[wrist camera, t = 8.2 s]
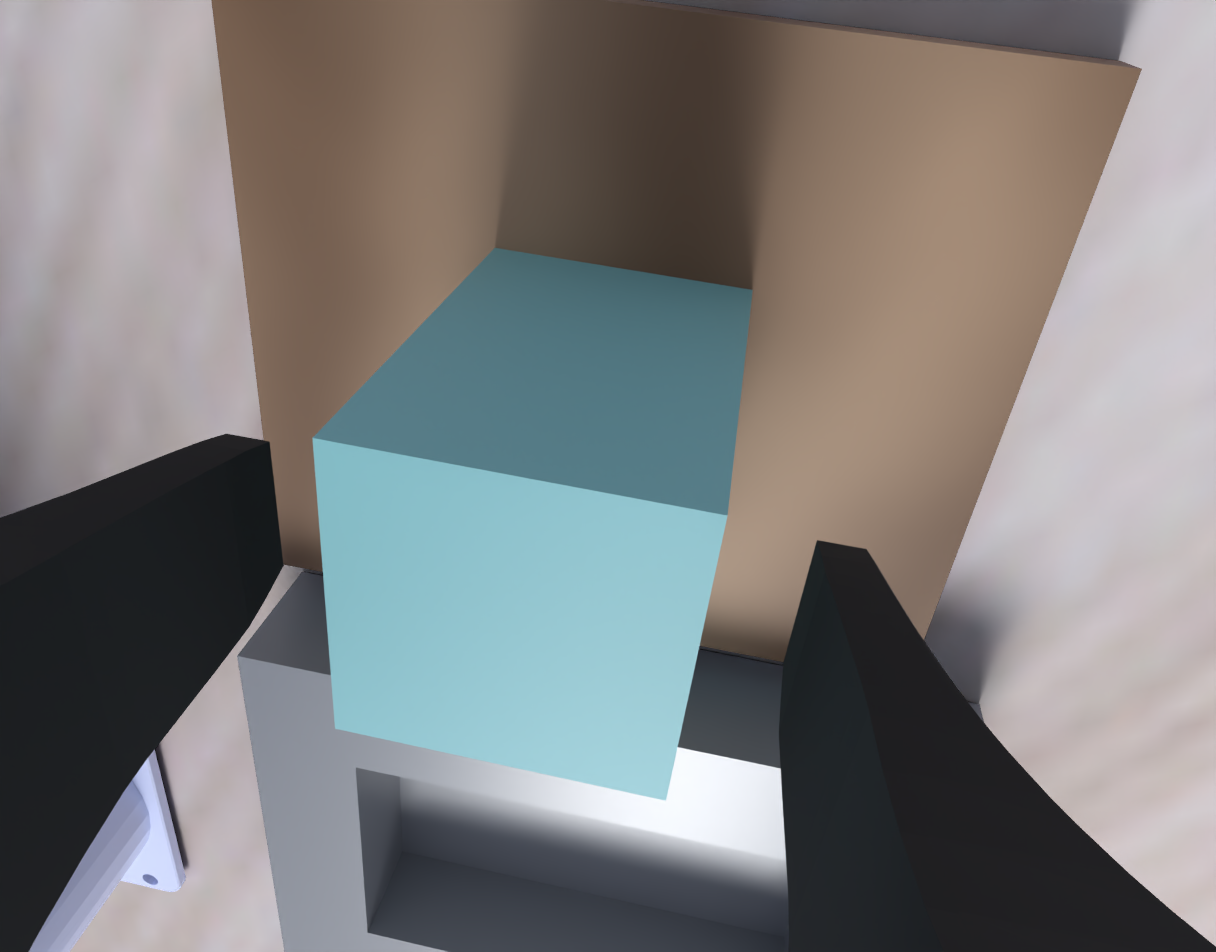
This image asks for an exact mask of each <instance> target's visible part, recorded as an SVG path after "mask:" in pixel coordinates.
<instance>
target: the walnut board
mask: <svg viewBox="0 0 1216 952" xmlns="http://www.w3.org/2000/svg"><path fill="white" fill-rule="evenodd" d="M212 8H213V16H214V25H215V33H216V42H217V50H218V59H219V67H220V75H221V84H222V92H223V101H224V109H225V118H226V126H227V134H228V143H229V151H230V160H231V168H232V177H233V185H234V193H235V202H236V210H237V219H238V227H239V236H240V244H241V253H242V261H243V269H244V278H245V286H246V295H247V303H248V312H249V320H250V328H251V337H252V345H253V354H254V362H255V371H256V379H257V387H258V396H259V404H260V413H261V421H262V430H263V438H264V441H269V442H270V449H271V458H272V467H273V476H274V485H275V494H276V503H277V512H278V521H279V530H280V538H281V547H282V556H283V564H284V565H290V566H295V567H300V568H305V569H310V570H315V571H320V572H323V567H322V554H321V541H320V529H319V516H318V503H317V490H316V477H315V464H314V451H313V439H312V438H313V437H314V436H315V435H316V434H317V433H318V432H319V431H320V430H321V429H322V428H323V426H324V425H325V424H326V423H327V422H328V421H329V420H330V419H331V418H332V417H333V416H334V415H335V414H336V413H337V412H338V411H339V410H340V409H341V408H342V407H343V406H344V405H345V404H346V402H347V401H348V400H349V399H350V398H351V397H352V396H353V395H354V394H355V393H356V392H357V391H358V390H359V389H360V388H361V387H362V386H363V385H364V384H365V383H366V382H367V381H368V380H369V378H370V377H371V376H372V375H373V374H374V373H375V372H376V371H377V370H378V369H379V368H380V367H381V366H382V365H383V364H384V363H385V362H386V361H387V360H388V359H389V358H390V357H391V356H392V354H393V353H394V352H395V351H396V350H397V349H398V348H399V347H400V346H401V345H402V344H403V343H404V342H405V341H406V340H407V339H408V338H409V337H410V336H411V335H412V334H413V333H414V332H415V330H416V329H417V328H418V327H419V326H420V325H421V324H422V323H423V322H424V321H425V320H426V319H427V318H428V317H429V316H430V315H431V314H432V313H433V312H434V311H435V310H436V309H437V308H438V307H439V305H440V304H441V303H442V302H443V301H444V300H445V299H446V298H447V297H448V296H449V295H450V294H451V293H452V292H453V291H454V290H455V289H456V288H457V287H458V286H459V285H460V284H461V283H462V281H463V280H464V279H465V278H466V277H467V276H468V275H469V274H470V273H471V272H472V271H473V270H474V269H475V268H476V267H477V266H478V265H479V264H480V263H481V262H482V261H483V260H484V259H485V257H486V256H487V255H488V254H489V253H490V252H491V251H492V250H493V249H494V248H499V249H505V250H511V251H517V252H523V253H529V254H535V255H542V256H548V257H554V258H560V259H566V260H572V261H578V262H584V263H591V264H597V265H603V266H609V267H615V268H621V269H627V270H633V271H640V272H646V273H652V274H658V275H664V276H670V277H676V278H682V279H688V280H695V281H701V282H707V283H713V284H719V285H725V286H731V287H737V288H744V289H750V290H753V292H752V301H751V310H750V319H749V328H748V337H747V346H746V355H745V364H744V373H743V382H742V391H741V399H740V408H739V417H738V426H737V435H736V444H735V453H734V462H733V471H732V480H731V489H730V498H729V507H728V516H727V521H726V525H725V530H724V535H723V539H722V544H721V548H720V553H719V558H718V562H717V567H716V572H715V576H714V581H713V585H712V590H711V595H710V599H709V604H708V609H707V613H706V618H705V622H704V627H703V632H702V636H701V641H700V646H704V647H709V648H714V649H719V650H724V651H729V652H734V653H739V654H745V655H750V656H755V657H760V658H765V659H770V660H775V661H780V662H784V658H785V655H786V651H787V647H788V644H789V640H790V636H791V633H792V629H793V625H794V622H795V618H796V615H797V611H798V607H799V604H800V600H801V596H802V593H803V589H804V585H805V582H806V578H807V575H808V571H809V567H810V564H811V560H812V556H813V553H814V549H815V546H816V542H817V540H819V541H825V542H830V543H836V544H842V545H847V546H853V547H858V548H864V549H867V551H868V552H869V553H870V555H871V556H872V558H873V560H874V561H875V563H876V564H877V566H878V568H879V569H880V571H881V573H882V574H883V576H884V578H885V579H886V581H887V583H888V584H889V586H890V588H891V589H892V591H893V593H894V594H895V596H896V597H897V599H898V601H899V602H900V604H901V606H902V607H903V609H904V610H905V612H906V614H907V615H908V617H909V618H910V620H911V621H912V623H913V625H914V626H915V628H916V629H917V631H918V632H919V634H920V635H921V637H922V638H923V640H924V638H925V636H926V633H927V630H928V628H929V625H930V623H931V620H932V617H933V615H934V612H935V609H936V607H937V604H938V602H939V599H940V596H941V594H942V591H943V589H944V586H945V583H946V581H947V578H948V575H949V573H950V570H951V568H952V565H953V562H954V560H955V557H956V554H957V552H958V549H959V547H960V544H961V541H962V539H963V536H964V533H965V531H966V528H967V526H968V523H969V520H970V518H971V515H972V513H973V510H974V507H975V505H976V502H977V499H978V497H979V494H980V492H981V489H982V486H983V484H984V481H985V478H986V476H987V473H988V471H989V468H990V465H991V463H992V460H993V458H994V455H995V452H996V450H997V447H998V444H999V442H1000V439H1001V437H1002V434H1003V431H1004V429H1005V426H1006V423H1007V421H1008V418H1009V416H1010V413H1011V410H1012V408H1013V405H1014V403H1015V400H1016V397H1017V395H1018V392H1019V389H1020V387H1021V384H1022V382H1023V379H1024V376H1025V374H1026V371H1027V368H1028V366H1029V363H1030V361H1031V358H1032V355H1033V353H1034V350H1035V347H1036V345H1037V342H1038V340H1039V337H1040V334H1041V332H1042V329H1043V327H1044V324H1045V321H1046V319H1047V316H1048V313H1049V311H1050V308H1051V306H1052V303H1053V300H1054V298H1055V295H1056V292H1057V290H1058V287H1059V285H1060V282H1061V279H1062V277H1063V274H1064V272H1065V269H1066V266H1067V264H1068V261H1069V258H1070V256H1071V253H1072V251H1073V248H1074V245H1075V243H1076V240H1077V237H1078V235H1079V232H1080V230H1081V227H1082V224H1083V222H1084V219H1085V217H1086V214H1087V211H1088V209H1089V206H1090V203H1091V201H1092V198H1093V196H1094V193H1095V190H1096V188H1097V185H1098V182H1099V180H1100V177H1101V175H1102V172H1103V169H1104V167H1105V164H1106V162H1107V159H1108V156H1109V154H1110V151H1111V148H1112V146H1113V143H1114V141H1115V138H1116V135H1117V133H1118V130H1119V127H1120V125H1121V122H1122V120H1123V117H1124V114H1125V112H1126V109H1127V106H1128V104H1129V101H1130V99H1131V96H1132V93H1133V91H1134V88H1135V86H1136V83H1137V80H1138V78H1139V75H1140V72H1141V70H1142V69H1140V68H1138V67H1135V66H1132V65H1130V64H1127V63H1124V62H1122V61H1118V60H1110V59H1102V58H1094V57H1086V56H1078V55H1070V54H1062V53H1054V52H1047V51H1039V50H1031V49H1023V48H1015V47H1007V46H999V45H991V44H984V43H976V42H968V41H960V40H952V39H944V38H936V37H928V36H920V35H913V34H905V33H897V32H889V31H881V30H873V29H865V28H857V27H850V26H842V25H834V24H826V23H818V22H810V21H802V20H794V19H786V18H779V17H771V16H763V15H755V14H747V13H739V12H731V11H723V10H716V9H708V8H700V7H692V6H684V5H676V4H668V3H660V2H652V1H645V0H212Z"/></svg>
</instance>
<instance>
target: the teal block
mask: <svg viewBox="0 0 1216 952" xmlns="http://www.w3.org/2000/svg"><path fill="white" fill-rule="evenodd" d="M752 292H753V290H750V289H744V288H737V287H731V286H725V285H719V284H713V283H707V282H701V281H695V280H688V279H682V278H676V277H670V276H664V275H658V274H652V273H646V272H640V271H633V270H627V269H621V268H615V267H609V266H603V265H597V264H591V263H584V262H578V261H572V260H566V259H560V258H554V257H548V256H542V255H535V254H529V253H523V252H517V251H511V250H505V249H499V248H494V249H493V250H492V251H491V252H490V253H489V254H488V255H487V256H486V257H485V259H484V260H483V261H482V262H481V263H480V264H479V265H478V266H477V267H476V268H475V269H474V270H473V271H472V272H471V273H470V274H469V275H468V276H467V277H466V278H465V279H464V280H463V281H462V283H461V284H460V285H459V286H458V287H457V288H456V289H455V290H454V291H453V292H452V293H451V294H450V295H449V296H448V297H447V298H446V299H445V300H444V301H443V302H442V303H441V304H440V305H439V307H438V308H437V309H436V310H435V311H434V312H433V313H432V314H431V315H430V316H429V317H428V318H427V319H426V320H425V321H424V322H423V323H422V324H421V325H420V326H419V327H418V328H417V329H416V330H415V332H414V333H413V334H412V335H411V336H410V337H409V338H408V339H407V340H406V341H405V342H404V343H403V344H402V345H401V346H400V347H399V348H398V349H397V350H396V351H395V352H394V353H393V354H392V356H391V357H390V358H389V359H388V360H387V361H386V362H385V363H384V364H383V365H382V366H381V367H380V368H379V369H378V370H377V371H376V372H375V373H374V374H373V375H372V376H371V377H370V378H369V380H368V381H367V382H366V383H365V384H364V385H363V386H362V387H361V388H360V389H359V390H358V391H357V392H356V393H355V394H354V395H353V396H352V397H351V398H350V399H349V400H348V401H347V402H346V404H345V405H344V406H343V407H342V408H341V409H340V410H339V411H338V412H337V413H336V414H335V415H334V416H333V417H332V418H331V419H330V420H329V421H328V422H327V423H326V424H325V425H324V426H323V428H322V429H321V430H320V431H319V432H318V433H317V434H316V435H315V436H314V437H313V438H312V439H313V451H314V464H315V477H316V490H317V503H318V516H319V529H320V541H321V554H322V567H323V580H324V593H325V606H326V619H327V632H328V644H329V657H330V670H331V683H332V696H333V709H334V722H335V729H339V730H344V731H348V732H353V733H357V734H362V735H367V736H371V737H376V738H380V739H385V740H390V741H394V742H399V743H403V744H408V745H412V746H417V747H422V748H426V749H431V750H435V751H440V752H445V753H449V754H454V755H458V756H463V757H467V758H472V759H477V760H481V761H486V762H490V763H495V764H500V765H504V766H509V767H513V768H518V769H523V770H527V771H532V772H536V773H541V774H545V775H550V776H555V777H559V778H564V779H568V780H573V781H578V782H582V783H587V784H591V785H596V786H601V787H605V788H610V789H614V790H619V791H623V792H628V793H633V794H637V795H642V796H646V797H651V798H656V799H660V800H665V801H666V798H667V794H668V789H669V784H670V780H671V775H672V771H673V766H674V761H675V757H676V752H677V747H678V743H679V738H680V734H681V729H682V724H683V720H684V715H685V710H686V706H687V701H688V697H689V692H690V687H691V683H692V678H693V673H694V669H695V664H696V659H697V655H698V650H699V646H700V641H701V636H702V632H703V627H704V622H705V618H706V613H707V609H708V604H709V599H710V595H711V590H712V585H713V581H714V576H715V572H716V567H717V562H718V558H719V553H720V548H721V544H722V539H723V535H724V530H725V525H726V521H727V516H728V507H729V498H730V489H731V480H732V471H733V462H734V453H735V444H736V435H737V426H738V417H739V408H740V399H741V391H742V382H743V373H744V364H745V355H746V346H747V337H748V328H749V319H750V310H751V301H752Z"/></svg>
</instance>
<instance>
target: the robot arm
mask: <svg viewBox="0 0 1216 952" xmlns="http://www.w3.org/2000/svg"><path fill="white" fill-rule="evenodd" d="M283 566H284V565H283V556H282V547H281V538H280V530H279V521H278V512H277V503H276V494H275V485H274V476H273V467H272V458H271V449H270V442H269V441H263V440H258V439H252V438H247V437H241V436H236V435H230V434H224V435H221V436H217V437H214V438H210V439H207V440H204V441H201V442H199V443H196V444H193V445H190V446H188V447H185V448H182V449H180V450H177V451H174V452H172V453H169V454H167V455H164V456H162V457H159V458H156V459H154V460H151V461H149V462H146V463H144V464H141V465H139V466H136V467H134V468H131V469H129V470H126V471H124V472H121V473H119V474H116V475H114V476H111V477H109V478H106V479H104V480H101V481H99V482H96V483H94V484H91V485H89V486H86V487H84V488H81V489H78V490H76V491H73V492H71V493H68V494H65V495H63V496H60V497H57V498H54V499H52V500H49V501H46V502H43V503H41V504H38V505H35V506H32V507H29V508H27V509H24V510H21V511H18V512H16V513H13V514H10V515H7V516H4V517H2V518H0V952H70V951H71V949H72V948H73V946H74V945H75V944H76V942H77V941H78V939H79V938H80V937H81V935H82V934H83V932H84V931H85V930H86V928H87V927H88V925H89V924H90V923H91V921H92V920H93V918H94V917H95V916H96V914H97V913H98V911H99V910H100V909H101V907H102V906H103V904H104V903H105V902H106V900H107V899H108V897H109V896H110V895H111V893H112V892H113V890H114V889H115V888H116V886H117V885H118V883H119V882H120V880H121V881H125V882H129V883H134V884H138V885H142V886H146V887H151V888H155V889H159V890H163V891H168V892H174V891H178V890H179V889H180V888H181V886H182V884H183V883H184V881H185V878H186V876H185V872H184V868H183V864H182V860H181V856H180V852H179V848H178V844H177V839H176V835H175V831H174V827H173V823H172V819H171V815H170V811H169V807H168V803H167V798H166V794H165V790H164V786H163V782H162V778H161V774H160V770H159V766H158V762H157V758H156V753H155V748H156V747H157V746H158V744H159V743H160V742H161V741H162V739H163V738H164V737H165V735H166V734H167V733H168V732H169V730H170V729H171V728H172V726H173V725H174V724H175V723H176V721H177V720H178V719H179V717H180V716H181V715H182V714H183V712H184V711H185V710H186V708H187V707H188V706H189V705H190V703H191V702H192V701H193V699H194V698H195V697H196V696H197V694H198V693H199V692H200V691H201V689H202V688H203V687H204V685H205V684H206V683H207V682H208V680H209V679H210V678H211V676H212V675H213V674H214V673H215V671H216V670H217V669H218V667H219V666H220V665H221V663H222V662H223V661H224V659H225V658H226V657H227V656H228V654H229V653H230V652H231V650H232V649H233V648H234V646H235V645H236V644H237V642H238V641H239V640H240V638H241V637H242V636H243V634H244V633H245V632H246V630H247V629H248V628H249V626H250V624H251V623H252V621H253V619H254V618H255V616H256V614H257V613H258V611H259V609H260V607H261V606H262V604H263V602H264V601H265V599H266V597H267V595H268V593H269V592H270V590H271V588H272V586H273V584H274V582H275V580H276V579H277V577H278V575H279V573H280V571H281V569H282V567H283ZM779 748H780V767H781V785H782V802H783V819H784V835H785V852H786V869H787V885H788V913H789V947H788V952H1216V947H1215V946H1214V945H1213V944H1212V943H1210V942H1209V941H1208V940H1207V939H1206V938H1204V937H1203V936H1202V935H1201V934H1199V933H1198V932H1197V931H1196V930H1195V929H1193V928H1192V927H1191V926H1190V925H1188V924H1187V923H1186V922H1185V921H1184V920H1182V919H1181V918H1180V917H1179V916H1177V915H1176V914H1175V913H1174V912H1173V911H1171V910H1170V909H1169V908H1168V907H1167V906H1166V905H1164V904H1163V903H1162V902H1161V901H1160V900H1159V899H1158V898H1156V897H1155V896H1154V895H1153V894H1152V893H1151V892H1150V891H1148V890H1147V889H1146V888H1145V887H1144V886H1143V885H1142V884H1140V883H1139V882H1138V881H1137V880H1136V879H1135V878H1133V877H1132V876H1131V875H1130V874H1129V873H1128V872H1127V871H1126V870H1125V869H1124V868H1123V867H1122V866H1120V865H1119V864H1118V863H1117V862H1116V861H1115V860H1114V859H1113V858H1112V857H1111V856H1110V855H1109V854H1108V853H1107V852H1106V851H1105V850H1103V849H1102V848H1101V847H1100V846H1099V845H1098V844H1097V843H1096V842H1095V841H1094V840H1093V839H1092V838H1091V837H1090V836H1089V835H1088V834H1086V833H1085V832H1084V831H1083V830H1082V829H1081V828H1080V827H1079V826H1078V825H1077V824H1076V823H1075V822H1074V821H1073V820H1072V819H1071V818H1070V817H1069V816H1068V815H1067V814H1066V813H1065V812H1064V811H1063V810H1062V809H1061V808H1060V807H1059V806H1058V805H1057V804H1056V803H1055V802H1054V801H1053V800H1052V799H1051V798H1050V797H1049V796H1048V795H1047V794H1046V792H1045V791H1044V790H1043V789H1042V788H1041V787H1040V786H1039V785H1038V784H1037V783H1036V782H1035V780H1034V779H1033V778H1032V777H1031V776H1030V775H1029V774H1028V773H1027V772H1026V771H1025V770H1024V768H1023V767H1022V766H1021V765H1020V764H1019V763H1018V762H1017V761H1016V760H1015V759H1014V758H1013V756H1012V755H1011V754H1010V753H1009V752H1008V751H1007V750H1006V749H1005V747H1004V746H1003V745H1002V744H1001V743H1000V741H999V740H998V739H997V738H996V737H995V736H994V734H993V733H992V732H991V731H990V730H989V728H988V727H987V726H986V725H985V723H984V722H983V721H982V720H981V718H980V717H979V716H978V714H977V713H976V712H975V711H974V709H973V708H972V707H971V706H970V704H969V703H968V702H967V700H966V699H965V698H964V697H963V695H962V694H961V693H960V691H959V690H958V689H957V687H956V686H955V685H954V683H953V682H952V680H951V679H950V678H949V676H948V675H947V673H946V672H945V671H944V669H943V668H942V666H941V665H940V663H939V662H938V660H937V659H936V657H935V656H934V655H933V653H932V652H931V650H930V649H929V647H928V646H927V644H926V643H925V641H924V640H923V638H922V637H921V635H920V634H919V632H918V631H917V629H916V628H915V626H914V625H913V623H912V621H911V620H910V618H909V617H908V615H907V614H906V612H905V610H904V609H903V607H902V606H901V604H900V602H899V601H898V599H897V597H896V596H895V594H894V593H893V591H892V589H891V588H890V586H889V584H888V583H887V581H886V579H885V578H884V576H883V574H882V573H881V571H880V569H879V568H878V566H877V564H876V563H875V561H874V560H873V558H872V556H871V555H870V553H869V552H868V551H867V549H864V548H858V547H853V546H847V545H842V544H836V543H830V542H825V541H819V540H817V542H816V546H815V549H814V553H813V556H812V560H811V564H810V567H809V571H808V575H807V578H806V582H805V585H804V589H803V593H802V596H801V600H800V604H799V607H798V611H797V615H796V618H795V622H794V625H793V629H792V633H791V636H790V640H789V644H788V647H787V651H786V655H785V658H784V662H783V675H782V689H781V703H780V720H779Z"/></svg>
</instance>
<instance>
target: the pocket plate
mask: <svg viewBox="0 0 1216 952" xmlns="http://www.w3.org/2000/svg"><path fill="white" fill-rule="evenodd" d="M237 657H238V664H239V670H240V676H241V682H242V689H243V695H244V701H245V707H246V714H247V720H248V726H249V732H250V739H251V745H252V751H253V757H254V764H255V770H256V776H257V782H258V789H259V795H260V801H261V807H262V814H263V820H264V826H265V832H266V839H267V845H268V851H269V857H270V864H271V870H272V876H273V882H274V889H275V895H276V901H277V907H278V914H279V920H280V926H281V932H282V939H283V945H284V951H285V952H788V947H789V913H788V885H787V869H786V852H785V835H784V819H783V802H782V785H781V767H780V748H779V720H780V703H781V689H782V675H783V666H781V665H775V664H770V663H765V662H760V661H755V660H750V659H745V658H740V657H735V656H730V655H724V654H719V653H714V652H709V651H704V650H698V655H697V659H696V664H695V669H694V673H693V678H692V683H691V687H690V692H689V697H688V701H687V706H686V710H685V715H684V720H683V724H682V729H681V734H680V738H679V743H678V747H677V752H676V757H675V761H674V766H673V771H672V775H671V780H670V784H669V789H668V794H667V798H666V801H665V800H660V799H656V798H651V797H646V796H642V795H637V794H633V793H628V792H623V791H619V790H614V789H610V788H605V787H601V786H596V785H591V784H587V783H582V782H578V781H573V780H568V779H564V778H559V777H555V776H550V775H545V774H541V773H536V772H532V771H527V770H523V769H518V768H513V767H509V766H504V765H500V764H495V763H490V762H486V761H481V760H477V759H472V758H467V757H463V756H458V755H454V754H449V753H445V752H440V751H435V750H431V749H426V748H422V747H417V746H412V745H408V744H403V743H399V742H394V741H390V740H385V739H380V738H376V737H371V736H367V735H362V734H357V733H353V732H348V731H344V730H339V729H335V722H334V709H333V696H332V683H331V670H330V657H329V644H328V632H327V619H326V606H325V593H324V580H323V576H321V575H316V574H311V573H306V572H302V573H301V574H300V575H299V577H298V578H297V579H296V581H295V582H294V583H293V584H292V586H291V587H290V588H289V590H288V591H287V592H286V594H285V595H284V596H283V597H282V599H281V600H280V601H279V603H278V604H277V605H276V606H275V608H274V609H273V610H272V612H271V613H270V614H269V616H268V617H267V618H266V619H265V621H264V622H263V623H262V625H261V626H260V627H259V629H258V630H257V631H256V632H255V634H254V635H253V636H252V638H251V639H250V640H249V641H248V643H247V644H246V645H245V647H244V648H243V649H242V651H241V652H240V653H239V654H238V656H237ZM968 703H969V702H968ZM969 704H970V706H971V707H972V708H973V709H974V711H975V712H976V713H977V714H978V716H979V717H980V718H981V720H982V721H983V717H982V713H981V708H980V705H979V704H974V703H969ZM983 722H984V721H983Z"/></svg>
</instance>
